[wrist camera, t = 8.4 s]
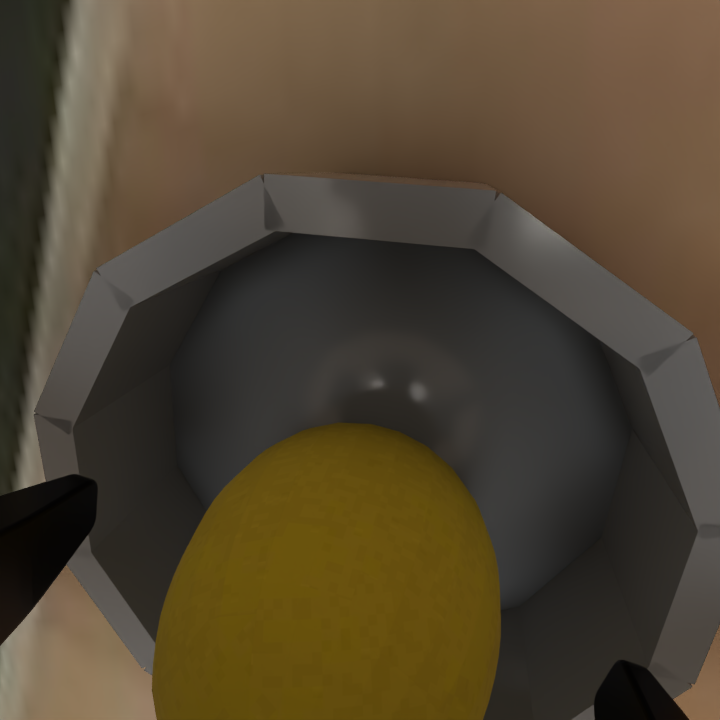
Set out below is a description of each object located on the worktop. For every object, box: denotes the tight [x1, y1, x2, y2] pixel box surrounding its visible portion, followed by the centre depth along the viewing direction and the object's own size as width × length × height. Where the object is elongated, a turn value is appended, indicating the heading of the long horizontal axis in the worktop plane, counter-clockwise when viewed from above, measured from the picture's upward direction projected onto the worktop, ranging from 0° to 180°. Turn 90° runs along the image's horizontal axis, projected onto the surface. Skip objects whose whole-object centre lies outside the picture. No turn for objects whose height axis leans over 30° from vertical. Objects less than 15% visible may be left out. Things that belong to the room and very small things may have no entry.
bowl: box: [34, 173, 720, 720], centre depth 12 cm, size 13×13×4 cm
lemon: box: [152, 422, 501, 720], centre depth 9 cm, size 6×6×8 cm
